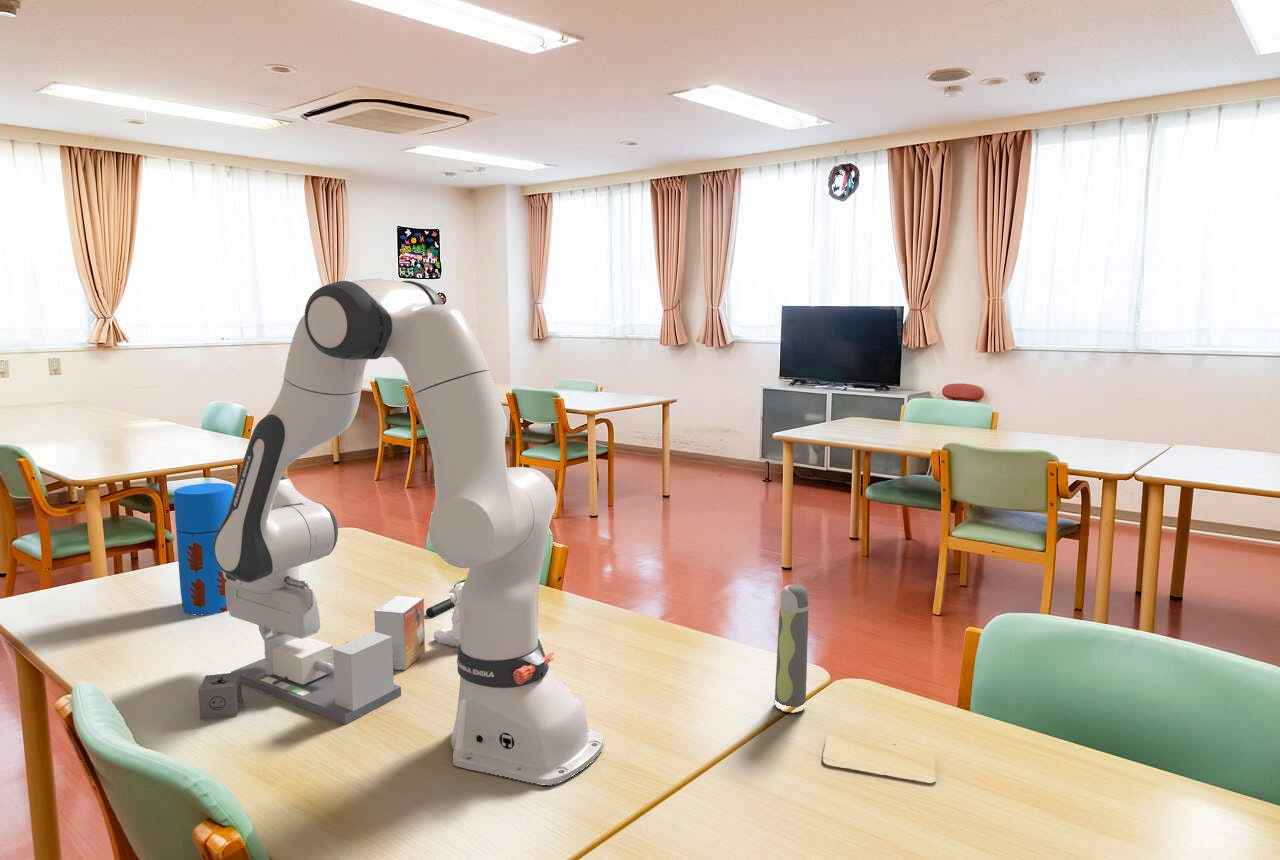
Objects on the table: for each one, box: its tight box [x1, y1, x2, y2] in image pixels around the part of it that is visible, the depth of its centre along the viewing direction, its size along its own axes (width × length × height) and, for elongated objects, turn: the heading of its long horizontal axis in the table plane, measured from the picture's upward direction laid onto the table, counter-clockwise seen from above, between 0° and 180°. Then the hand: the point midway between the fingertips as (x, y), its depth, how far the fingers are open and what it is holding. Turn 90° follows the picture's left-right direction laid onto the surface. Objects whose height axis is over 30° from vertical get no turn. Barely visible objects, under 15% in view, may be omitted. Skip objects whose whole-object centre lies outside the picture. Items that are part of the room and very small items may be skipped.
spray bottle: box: [774, 583, 809, 707], centre depth 128 cm, size 5×5×20 cm
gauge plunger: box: [263, 633, 334, 685], centre depth 133 cm, size 12×9×6 cm
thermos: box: [173, 482, 234, 616], centre depth 168 cm, size 11×11×25 cm
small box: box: [373, 595, 426, 671], centre depth 144 cm, size 8×6×10 cm
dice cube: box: [197, 672, 244, 721], centre depth 126 cm, size 5×5×5 cm
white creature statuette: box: [433, 582, 464, 649], centre depth 152 cm, size 10×9×12 cm
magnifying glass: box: [425, 578, 466, 618], centre depth 176 cm, size 12×24×2 cm, turn 155°
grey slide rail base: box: [230, 631, 402, 725], centre depth 133 cm, size 28×11×10 cm, turn 60°
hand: (274, 650), depth 139 cm, fingers closed
